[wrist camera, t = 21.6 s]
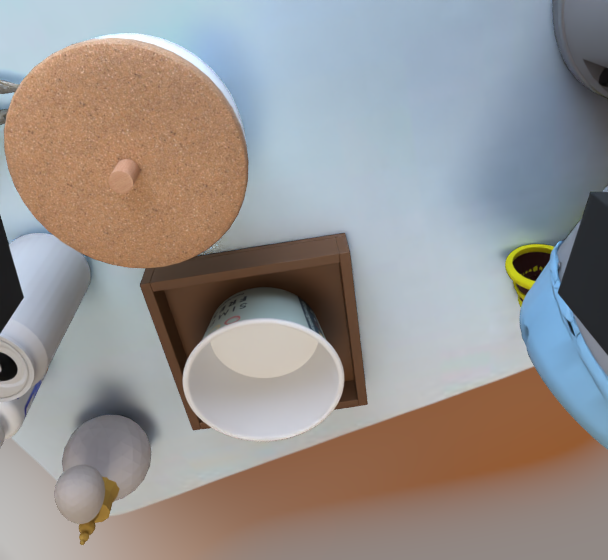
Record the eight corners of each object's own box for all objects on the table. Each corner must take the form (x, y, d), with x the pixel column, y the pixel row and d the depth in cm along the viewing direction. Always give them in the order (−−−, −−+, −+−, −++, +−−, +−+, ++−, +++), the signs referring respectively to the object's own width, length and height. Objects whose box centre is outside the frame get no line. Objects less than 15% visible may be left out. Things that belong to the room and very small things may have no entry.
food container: (246, 244, 42) (243, 291, 37) (364, 319, 47) (377, 371, 41) (165, 346, 47) (151, 401, 41) (279, 405, 51) (280, 462, 46)
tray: (345, 232, 43) (350, 251, 40) (362, 381, 51) (367, 404, 49) (146, 263, 43) (139, 284, 41) (196, 406, 52) (192, 430, 49)
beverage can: (101, 297, 45) (52, 405, 34) (20, 301, 44) (-53, 411, 34) (82, 226, 41) (23, 322, 31) (-6, 230, 41) (-95, 328, 31)
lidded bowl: (284, 157, 39) (290, 228, 30) (134, 232, 41) (96, 320, 32) (185, -25, 33) (153, -8, 23) (15, 76, 35) (-74, 129, 26)
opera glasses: (508, 290, 48) (535, 333, 44) (493, 251, 44) (521, 293, 41) (621, 239, 45) (659, 279, 42) (615, 193, 42) (655, 233, 38)
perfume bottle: (100, 463, 55) (63, 583, 45) (46, 395, 50) (-10, 514, 40) (170, 443, 54) (148, 562, 44) (121, 372, 49) (84, 488, 39)
